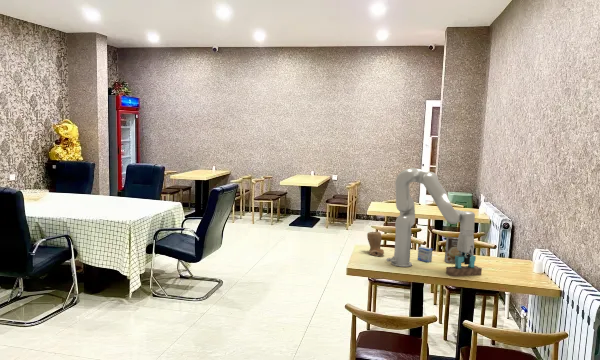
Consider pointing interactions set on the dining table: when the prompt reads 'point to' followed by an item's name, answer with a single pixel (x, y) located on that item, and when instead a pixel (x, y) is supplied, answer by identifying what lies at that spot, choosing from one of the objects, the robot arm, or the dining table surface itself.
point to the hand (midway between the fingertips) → (464, 263)
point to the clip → (461, 259)
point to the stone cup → (375, 243)
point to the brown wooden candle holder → (463, 271)
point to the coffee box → (451, 249)
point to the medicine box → (424, 254)
